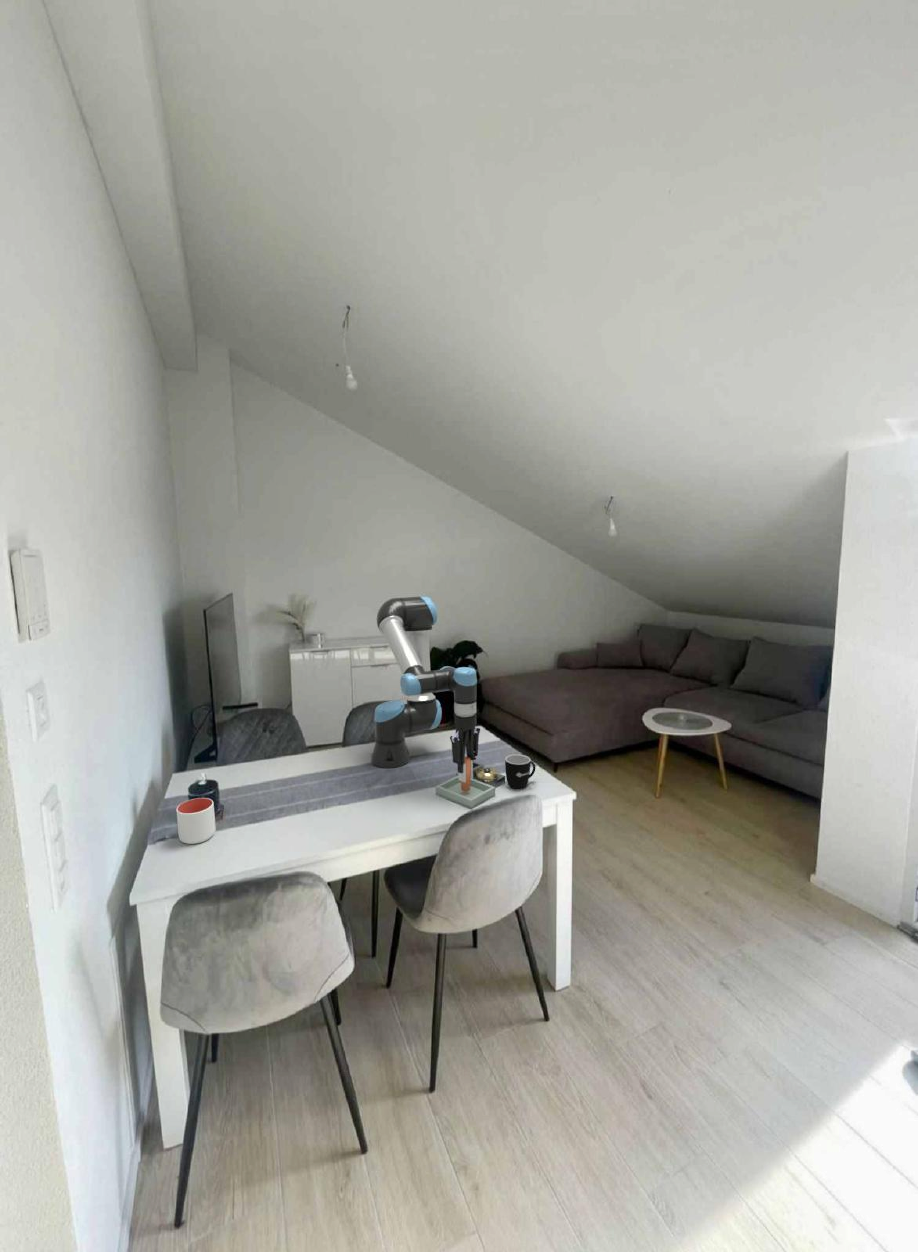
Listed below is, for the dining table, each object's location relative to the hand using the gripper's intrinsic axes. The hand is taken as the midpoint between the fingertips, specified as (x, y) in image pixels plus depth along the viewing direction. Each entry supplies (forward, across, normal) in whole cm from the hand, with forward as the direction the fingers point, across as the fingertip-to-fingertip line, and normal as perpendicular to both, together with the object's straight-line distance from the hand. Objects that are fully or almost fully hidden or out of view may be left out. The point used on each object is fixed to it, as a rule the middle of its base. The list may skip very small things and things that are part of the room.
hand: (465, 779), depth 192 cm
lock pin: (+4, 0, 0) cm, 4 cm away
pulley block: (+6, +12, +3) cm, 14 cm away
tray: (+6, 0, 0) cm, 6 cm away
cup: (+6, -73, +43) cm, 85 cm away
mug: (+6, +19, -10) cm, 22 cm away
